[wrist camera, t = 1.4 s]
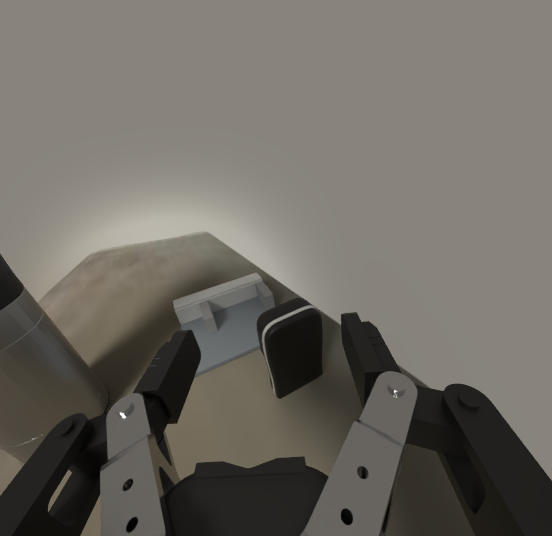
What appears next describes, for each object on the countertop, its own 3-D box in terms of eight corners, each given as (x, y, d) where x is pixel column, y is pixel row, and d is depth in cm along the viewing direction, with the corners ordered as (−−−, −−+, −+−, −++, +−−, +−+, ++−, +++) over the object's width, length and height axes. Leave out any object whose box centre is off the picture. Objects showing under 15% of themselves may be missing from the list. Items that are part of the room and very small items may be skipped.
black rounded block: (308, 354, 33) (303, 288, 27) (325, 374, 30) (323, 305, 24) (263, 377, 31) (248, 311, 25) (277, 402, 28) (263, 333, 22)
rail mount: (190, 379, 32) (180, 359, 30) (180, 317, 43) (172, 299, 41) (292, 333, 37) (290, 313, 35) (259, 288, 49) (256, 271, 46)
